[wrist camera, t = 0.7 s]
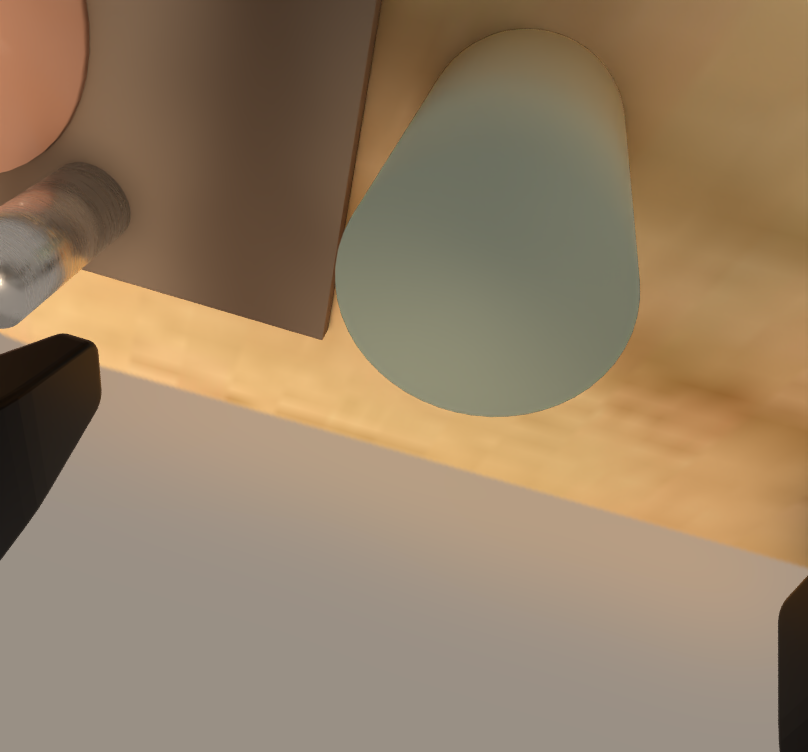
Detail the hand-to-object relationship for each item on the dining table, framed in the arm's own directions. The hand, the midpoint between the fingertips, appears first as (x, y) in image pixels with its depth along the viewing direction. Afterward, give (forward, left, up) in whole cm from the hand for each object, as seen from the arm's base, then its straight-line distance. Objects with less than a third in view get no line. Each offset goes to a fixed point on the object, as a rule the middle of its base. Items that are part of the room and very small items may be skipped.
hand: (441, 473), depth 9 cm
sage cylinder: (0, 0, -12) cm, 12 cm away
